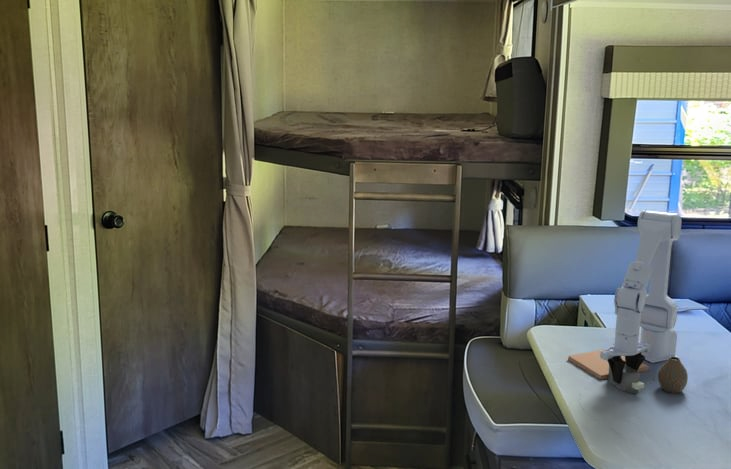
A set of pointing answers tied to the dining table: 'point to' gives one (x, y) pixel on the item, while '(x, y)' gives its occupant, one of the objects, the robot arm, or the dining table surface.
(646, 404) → the dining table surface
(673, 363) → the vase
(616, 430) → the dining table surface
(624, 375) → the plug
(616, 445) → the dining table surface
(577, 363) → the mat
